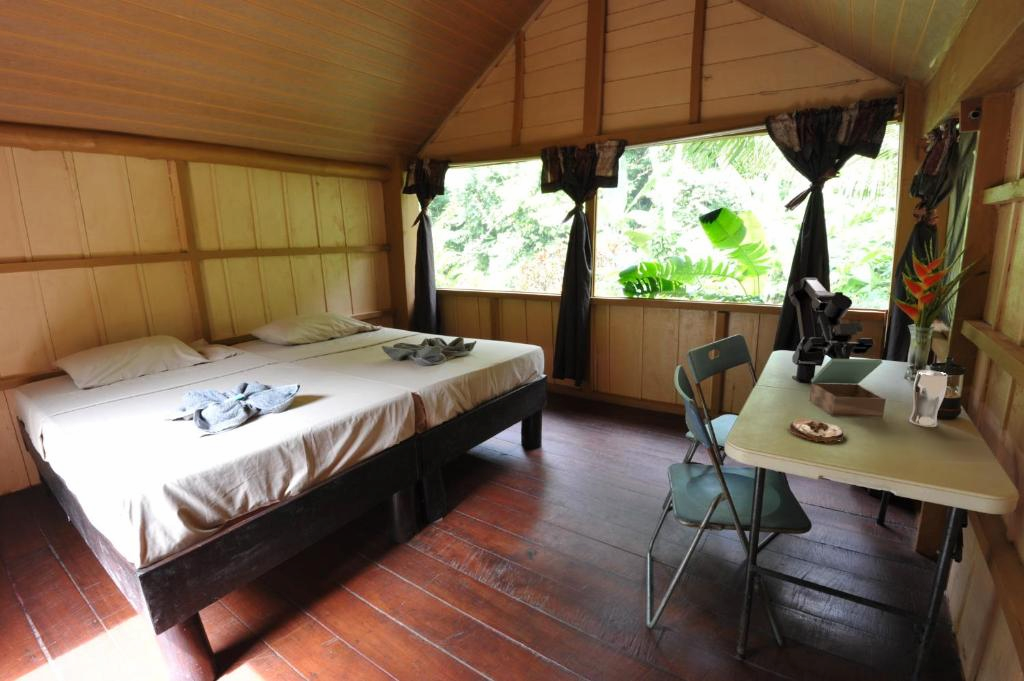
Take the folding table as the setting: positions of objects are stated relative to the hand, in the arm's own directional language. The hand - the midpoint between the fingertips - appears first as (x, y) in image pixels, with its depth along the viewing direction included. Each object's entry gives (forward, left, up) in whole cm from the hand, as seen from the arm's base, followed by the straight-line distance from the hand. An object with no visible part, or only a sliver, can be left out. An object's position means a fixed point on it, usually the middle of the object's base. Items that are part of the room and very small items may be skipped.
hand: (846, 368), depth 151 cm
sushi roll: (+22, -18, -13) cm, 31 cm away
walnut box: (+2, 0, -12) cm, 13 cm away
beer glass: (+12, +16, -13) cm, 24 cm away
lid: (0, 0, -1) cm, 1 cm away
